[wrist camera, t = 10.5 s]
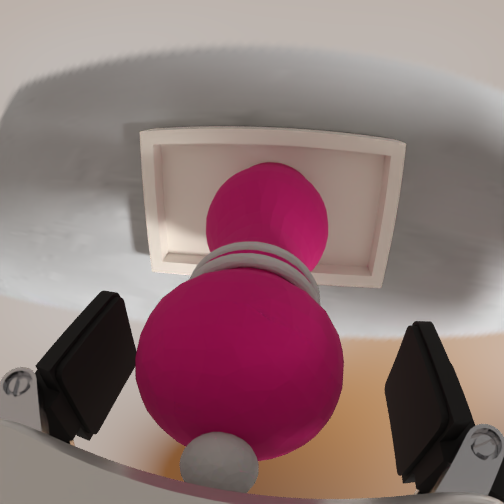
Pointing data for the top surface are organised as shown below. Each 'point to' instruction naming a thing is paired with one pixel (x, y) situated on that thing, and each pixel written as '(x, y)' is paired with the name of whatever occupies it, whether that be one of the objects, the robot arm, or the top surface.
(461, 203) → the top surface
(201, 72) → the top surface
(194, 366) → the pepper mill
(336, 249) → the tray
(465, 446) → the robot arm
